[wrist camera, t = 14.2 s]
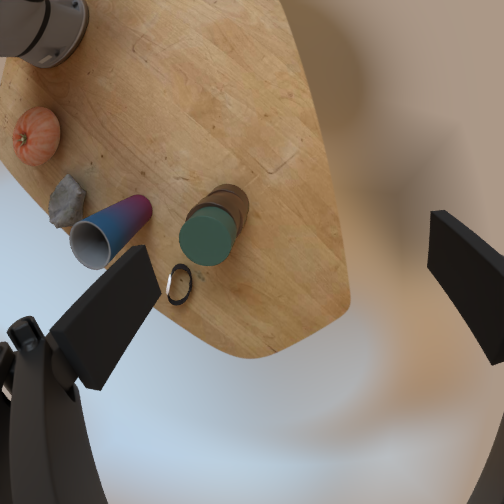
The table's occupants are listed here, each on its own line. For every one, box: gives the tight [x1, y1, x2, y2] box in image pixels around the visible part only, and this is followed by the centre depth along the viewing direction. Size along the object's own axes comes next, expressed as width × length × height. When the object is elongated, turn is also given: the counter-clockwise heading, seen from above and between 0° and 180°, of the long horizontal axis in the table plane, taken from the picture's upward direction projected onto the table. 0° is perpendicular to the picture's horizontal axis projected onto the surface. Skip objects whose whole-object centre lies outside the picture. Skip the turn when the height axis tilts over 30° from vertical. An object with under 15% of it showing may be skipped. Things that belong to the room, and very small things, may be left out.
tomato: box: [13, 107, 60, 166], centre depth 39 cm, size 11×11×8 cm
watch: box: [166, 264, 192, 305], centre depth 52 cm, size 8×5×4 cm, turn 164°
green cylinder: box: [179, 207, 237, 266], centre depth 34 cm, size 6×6×4 cm
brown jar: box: [185, 184, 249, 238], centre depth 41 cm, size 7×7×10 cm
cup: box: [70, 195, 152, 270], centre depth 41 cm, size 7×7×15 cm
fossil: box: [48, 174, 86, 228], centre depth 44 cm, size 11×9×8 cm
